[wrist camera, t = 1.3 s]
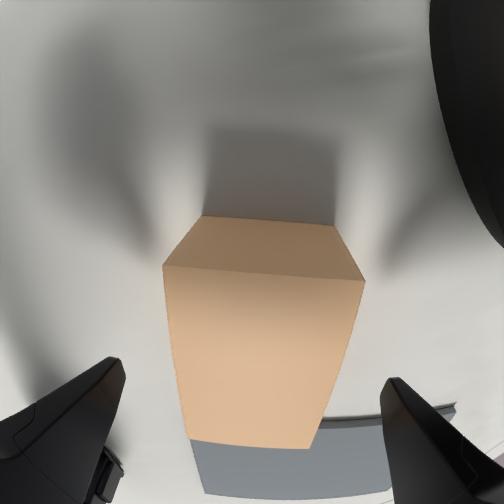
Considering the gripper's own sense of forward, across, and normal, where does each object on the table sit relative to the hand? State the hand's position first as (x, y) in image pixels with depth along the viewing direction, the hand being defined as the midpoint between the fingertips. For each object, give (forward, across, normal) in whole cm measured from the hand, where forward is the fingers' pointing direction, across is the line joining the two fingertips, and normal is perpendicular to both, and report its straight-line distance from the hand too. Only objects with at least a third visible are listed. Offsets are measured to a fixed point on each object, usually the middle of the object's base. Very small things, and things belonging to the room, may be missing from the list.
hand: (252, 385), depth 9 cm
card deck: (+4, 0, 0) cm, 4 cm away
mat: (+4, -5, +15) cm, 16 cm away
